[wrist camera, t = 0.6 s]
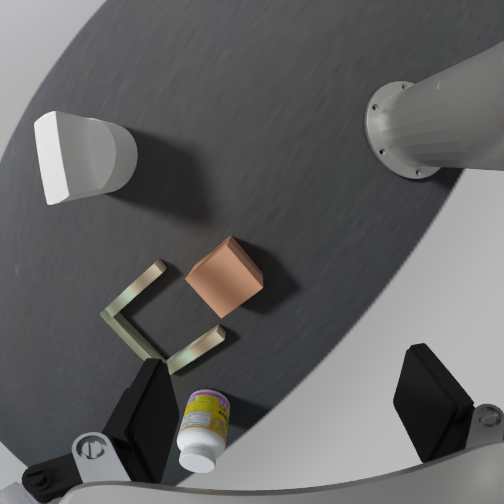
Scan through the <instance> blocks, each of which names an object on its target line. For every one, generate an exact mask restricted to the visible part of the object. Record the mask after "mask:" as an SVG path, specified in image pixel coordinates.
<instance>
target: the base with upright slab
mask: <svg viewBox="0 0 504 504" xmlns="http://www.w3.org/2000/svg"><path fill="white" fill-rule="evenodd" d="M34 127H35V136H36V144H37V151H38V158H39V164H40V170H41V175H42V181H43V186H44V191H45V195H46V200H47V204H49V205H51V204H55V203H60V202H64V201H69V200H73V199H78V198H83V197H88V196H93V195H98V194H103V193H109V192H114V191H116V190H118V189H120V188H122V187H123V186H124V185H125V184H126V183H127V182H128V181H129V179H130V178H131V176H132V175H133V173H134V170H135V168H136V164H137V157H138V154H137V146H136V143H135V140H134V138H133V136H132V135H131V134H130V132H129V131H128V130H126V129H125V128H124V127H122V126H119V125H116V124H113V123H109V122H105V121H102V120H98V119H94V118H84V117H80V116H76V115H71V114H67V113H62V112H58V111H52V112H49V113H47V114H45V115H43V116H42V117H41V118H39V119H38V120H37V121H36V122H35V123H34Z"/></svg>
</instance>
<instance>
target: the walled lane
mask: <svg viewBox="0 0 504 504" xmlns="http://www.w3.org/2000/svg"><path fill="white" fill-rule="evenodd" d="M166 268H167V267H166V266H165V265H164V263H163V262H162V261H161V260H160V259H159V260H158V261H156V262H155V263H154V264H153V265H152V266H151V267H150V268H149V269H148V270H146V271H145V272H144V273H143V274H142V275H141V276H140V277H139V278H138V279H137V280H136V281H134V282H133V283H132V284H131V285H130V286H129V287H128V288H127V289H126V290H125V291H124V292H123V293H122V294H120V295H119V296H118V297H117V298H116V299H115V300H114V301H113V302H112V303H111V304H110V305H109V306H108V307H107V308H106V309H105V310H104V311H103V312H102V313H101V314H100V315H101V316H102V317H103V319H104V320H105V321H106V322H107V323H108V324H109V325H110V326H111V327H112V328H113V330H114V331H115V332H116V333H117V334H118V335H119V336H120V337H121V338H122V339H123V340H124V341H125V342H126V343H127V344H128V345H129V346H130V347H131V348H132V349H133V350H134V351H135V352H136V353H137V354H138V355H139V356H140V357H141V358H142V359H143V360H144V361H145V360H146V359H147V358H157V359H162V361H163V363H167V365H168V369H169V374H170V375H171V374H172V373H174V372H175V371H177V370H179V369H180V368H182V367H183V366H185V365H187V364H188V363H190V362H191V361H193V360H194V359H196V358H197V357H199V356H200V355H202V354H204V353H205V352H207V351H208V350H210V349H211V348H213V347H214V346H216V345H217V344H219V343H220V342H222V341H223V340H224V339H225V334H226V332H225V330H224V329H223V328H222V327H221V326H220V325H219V324H218V325H217V326H215V327H214V328H213V329H211V330H210V331H208V332H207V333H205V334H204V335H202V336H201V337H200V338H198V339H197V340H195V341H194V342H192V343H191V344H189V345H188V346H186V347H185V348H184V349H182V350H181V351H179V352H178V353H176V354H175V355H173V356H172V357H170V358H169V359H167V360H165V359H164V358H163V357H162V356H161V355H160V354H159V353H158V352H157V351H156V350H155V349H154V348H153V347H152V346H151V345H150V344H149V343H148V342H147V341H146V340H145V339H144V338H143V337H142V336H141V334H140V333H139V332H138V331H137V330H136V329H135V328H134V327H133V326H132V325H131V324H130V323H129V322H128V321H127V320H126V319H125V317H124V316H123V315H122V314H121V313H120V312H119V311H120V310H121V309H122V308H123V307H124V306H126V305H127V304H128V303H129V302H130V301H131V300H132V299H133V298H134V297H136V296H137V295H138V294H139V293H140V292H141V291H142V290H143V289H145V288H146V287H147V286H148V285H149V284H150V283H151V282H153V281H154V280H155V279H156V278H157V277H158V276H159V275H161V274H162V273H163V272H164V271H165V270H166Z"/></svg>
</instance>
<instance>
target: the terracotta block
mask: <svg viewBox="0 0 504 504" xmlns="http://www.w3.org/2000/svg"><path fill="white" fill-rule="evenodd" d="M186 281H187V282H188V283H189V284H190V285H191V286H192V287H193V288H194V289H195V291H196V292H197V293H198V294H199V295H200V296H201V297H202V298H203V299H204V300H205V302H206V303H207V304H208V305H209V306H210V307H211V308H212V309H213V310H214V311H215V312H216V313H217V314H218V316H219V317H220V318H222V317H224V316H225V315H227V314H228V313H229V312H231V311H232V310H234V309H235V308H236V307H238V306H239V305H241V304H242V303H243V302H245V301H246V300H247V299H249V298H250V297H252V296H253V295H254V294H256V293H257V292H258V291H260V290H261V289H262V288H263V273H262V272H261V270H260V269H259V268H258V267H257V266H256V264H255V263H254V262H253V261H252V260H251V259H250V257H249V256H248V255H247V254H246V253H245V251H244V250H243V249H242V248H241V247H240V245H239V244H238V243H237V242H236V241H235V240H234V238H233V237H232V236H230V237H229V238H228V239H226V240H225V241H224V242H223V243H222V244H220V245H219V246H218V247H217V248H215V249H214V250H213V251H212V252H210V253H209V254H208V255H207V256H206V257H204V258H203V259H202V260H201V261H199V262H198V263H197V264H196V265H195V266H194V267H193V269H192V270H191V271H190V273H189V274H188V276H187V277H186Z"/></svg>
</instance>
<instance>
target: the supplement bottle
mask: <svg viewBox="0 0 504 504" xmlns="http://www.w3.org/2000/svg"><path fill="white" fill-rule="evenodd" d="M229 413H230V404H229V401H228V400H227V398H226V397H225V396H224V395H222V394H221V393H219V392H217V391H214V390H208V389H206V390H199V391H196V392H194V393H193V394H192V395H191V396H190V398H189V400H188V403H187V407H186V410H185V414H184V417H183V421H182V424H181V428H180V431H179V434H178V438H177V444H178V447H179V449H180V450H181V451H182V452H181V454H180V459H179V462H180V464H181V465H182V466H183V467H184V468H186V469H187V470H190V471H193V472H197V473H207V472H211V471H212V470H214V468H215V464H216V458H218V457H220V456H221V455H222V454H223V452H224V450H225V444H226V436H227V429H228V421H229Z"/></svg>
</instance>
